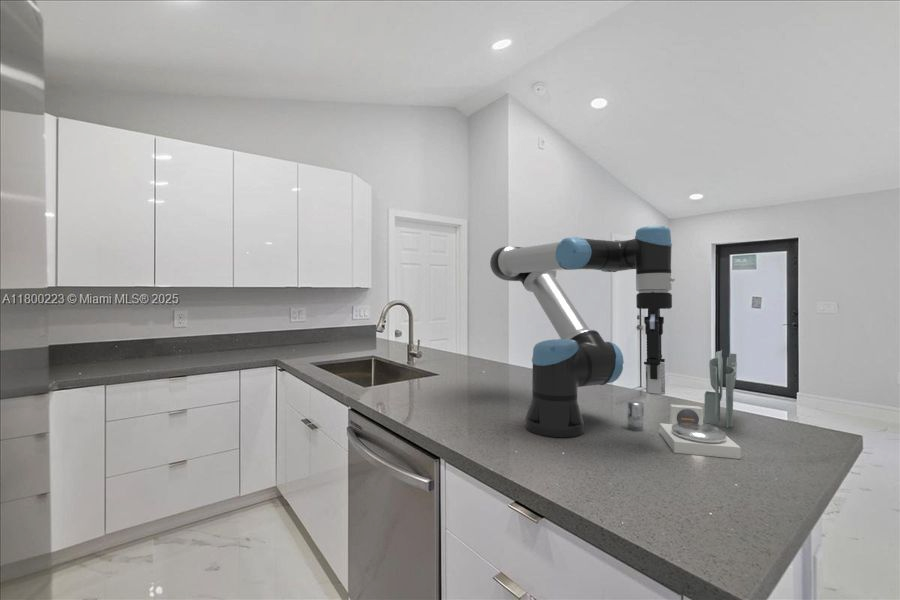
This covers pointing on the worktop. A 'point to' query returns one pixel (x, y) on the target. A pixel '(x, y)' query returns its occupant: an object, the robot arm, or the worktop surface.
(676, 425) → the pan
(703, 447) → the scale
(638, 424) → the cylinder
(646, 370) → the grey metal knob
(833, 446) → the worktop surface
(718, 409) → the bracket
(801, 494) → the worktop surface
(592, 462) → the worktop surface
